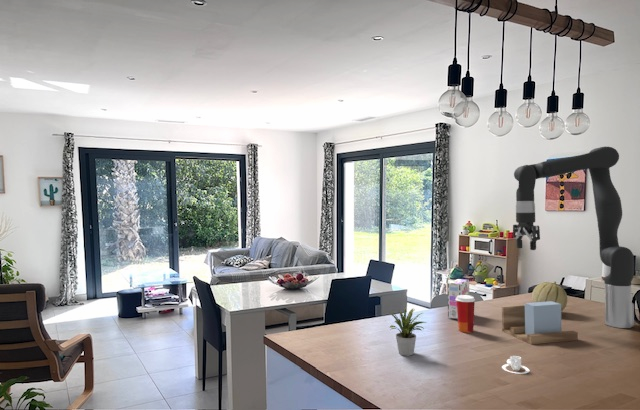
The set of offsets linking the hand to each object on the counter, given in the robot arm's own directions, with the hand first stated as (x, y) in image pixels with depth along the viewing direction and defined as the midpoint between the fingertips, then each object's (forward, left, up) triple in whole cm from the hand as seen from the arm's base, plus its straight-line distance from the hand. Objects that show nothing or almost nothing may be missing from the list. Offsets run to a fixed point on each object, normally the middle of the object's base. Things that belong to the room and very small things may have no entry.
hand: (526, 249), depth 182 cm
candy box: (+22, -18, -32) cm, 43 cm away
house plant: (+66, +22, -32) cm, 77 cm away
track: (+7, +16, -32) cm, 36 cm away
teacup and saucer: (+34, +43, -33) cm, 64 cm away
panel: (+7, +18, -31) cm, 37 cm away
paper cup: (+31, +3, -32) cm, 45 cm away
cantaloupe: (-21, -12, -32) cm, 40 cm away
